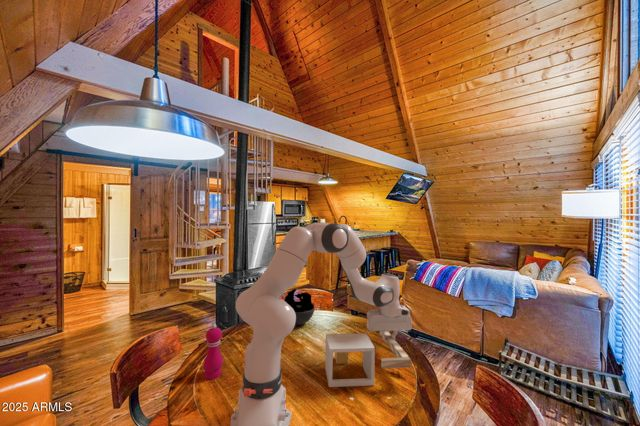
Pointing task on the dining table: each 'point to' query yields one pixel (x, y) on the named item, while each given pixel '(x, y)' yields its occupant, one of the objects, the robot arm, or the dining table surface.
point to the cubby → (350, 345)
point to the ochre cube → (341, 357)
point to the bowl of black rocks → (301, 306)
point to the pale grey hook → (401, 358)
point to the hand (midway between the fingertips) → (388, 339)
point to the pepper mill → (213, 354)
